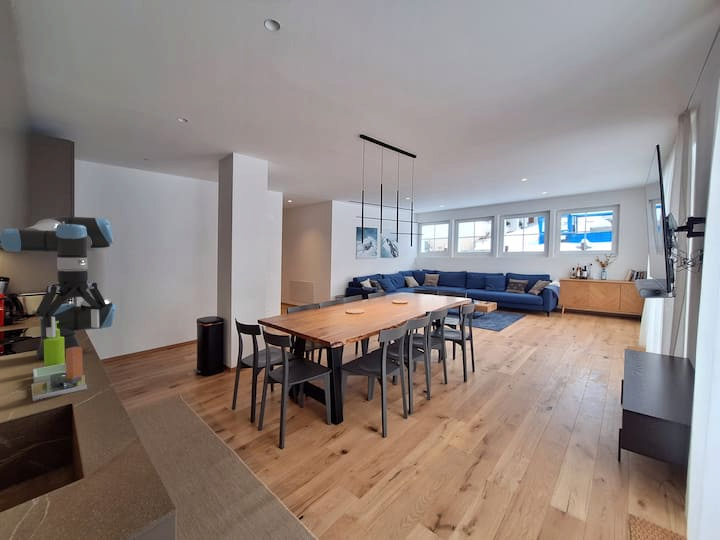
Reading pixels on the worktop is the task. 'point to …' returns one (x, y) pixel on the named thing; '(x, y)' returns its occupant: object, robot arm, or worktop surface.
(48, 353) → the soap dispenser
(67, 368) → the crank
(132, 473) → the worktop surface
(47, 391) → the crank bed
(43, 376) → the tray
